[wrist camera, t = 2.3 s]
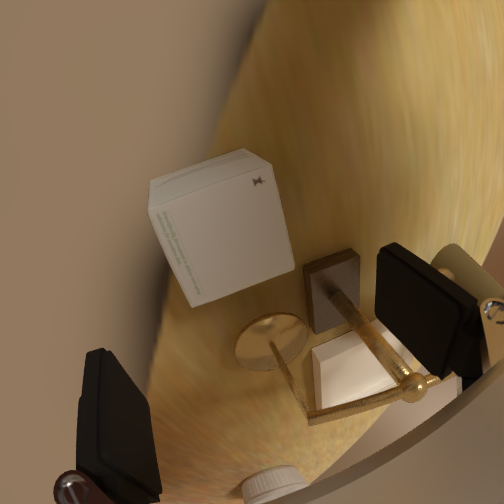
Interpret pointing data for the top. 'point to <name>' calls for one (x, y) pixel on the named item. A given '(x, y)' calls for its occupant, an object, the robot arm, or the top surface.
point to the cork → (468, 273)
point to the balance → (321, 319)
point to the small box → (221, 225)
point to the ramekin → (272, 484)
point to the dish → (351, 368)
